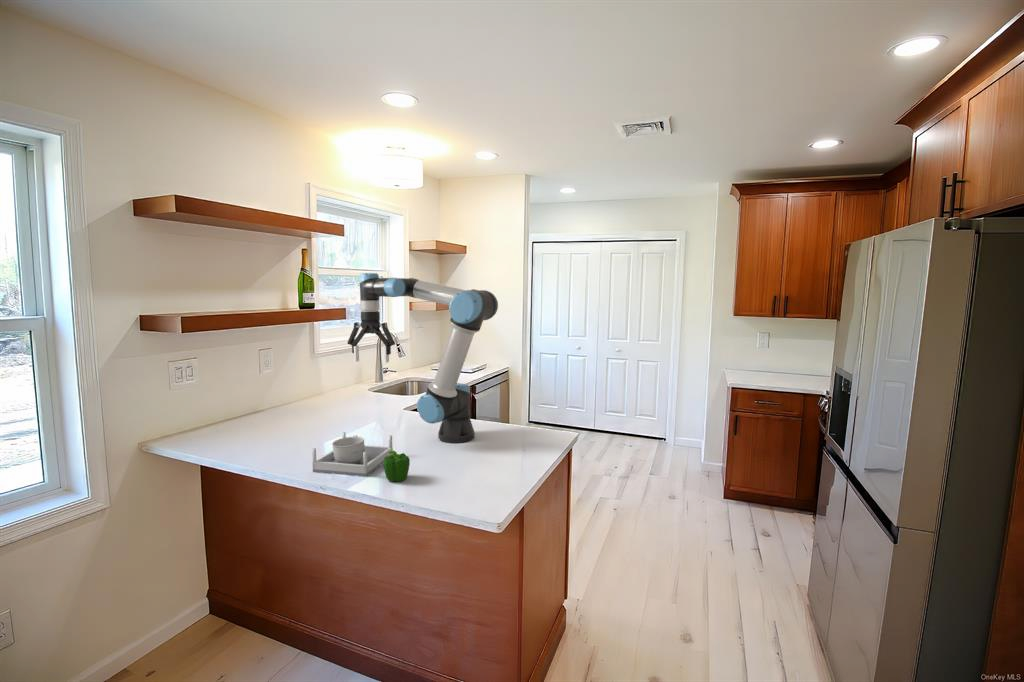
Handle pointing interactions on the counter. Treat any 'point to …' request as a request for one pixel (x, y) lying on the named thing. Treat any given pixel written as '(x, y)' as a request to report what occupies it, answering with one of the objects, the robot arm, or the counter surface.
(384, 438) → the counter surface
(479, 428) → the counter surface
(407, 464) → the bell pepper
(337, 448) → the teacup
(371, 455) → the dish rack
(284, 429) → the counter surface
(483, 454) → the counter surface
